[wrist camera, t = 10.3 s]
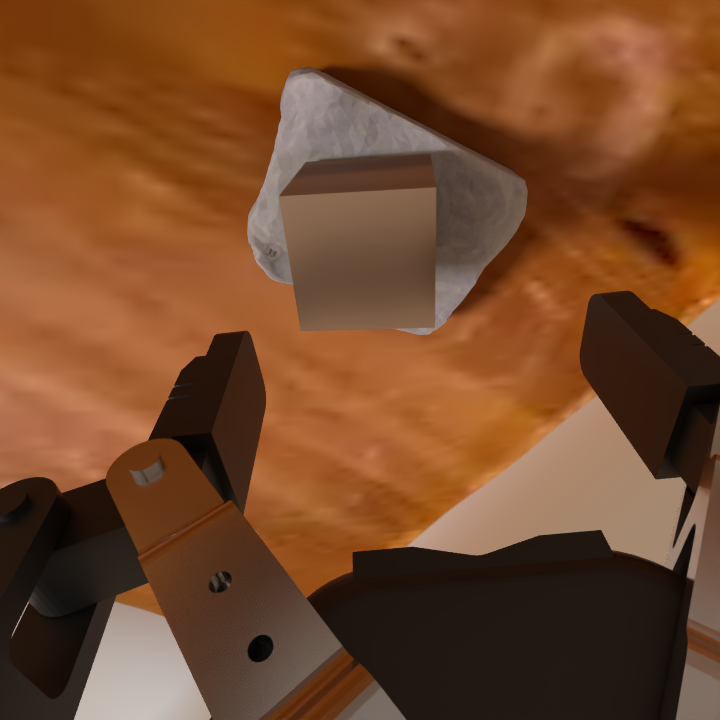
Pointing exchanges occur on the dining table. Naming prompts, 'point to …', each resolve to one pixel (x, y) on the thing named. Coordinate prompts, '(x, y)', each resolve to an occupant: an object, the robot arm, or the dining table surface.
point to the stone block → (383, 139)
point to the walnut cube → (362, 242)
